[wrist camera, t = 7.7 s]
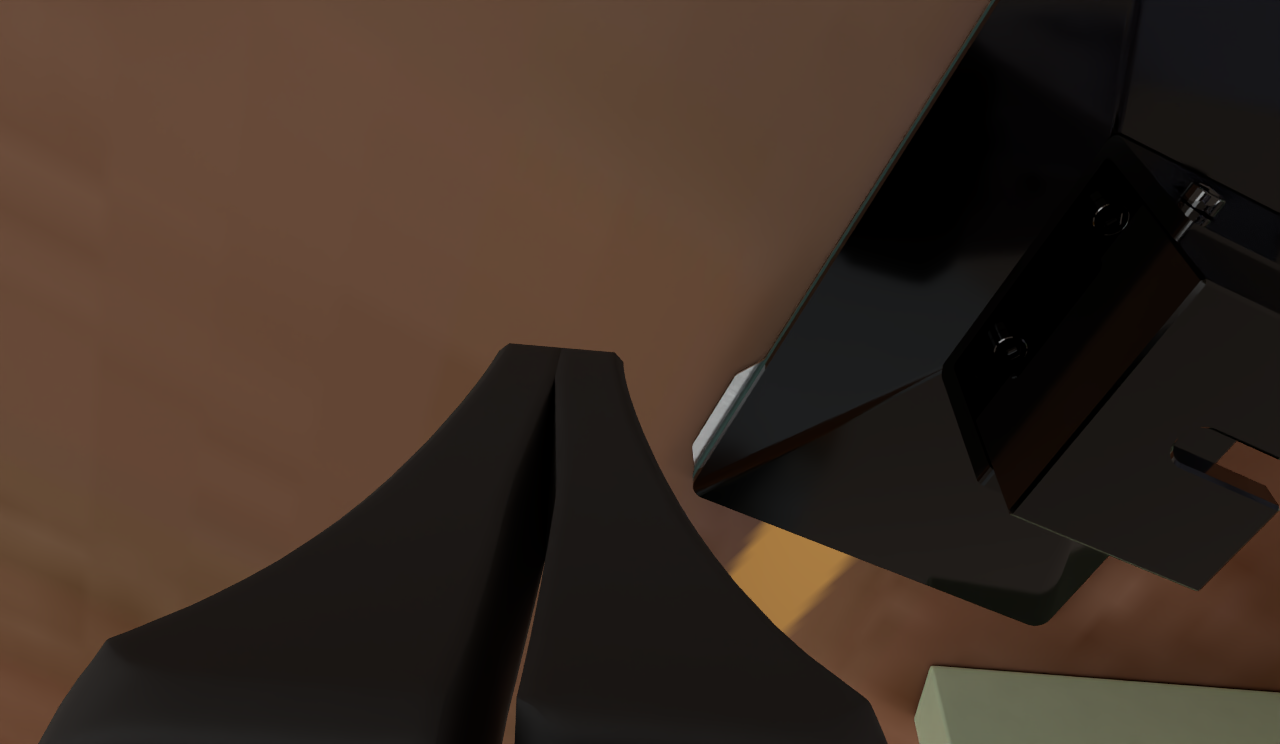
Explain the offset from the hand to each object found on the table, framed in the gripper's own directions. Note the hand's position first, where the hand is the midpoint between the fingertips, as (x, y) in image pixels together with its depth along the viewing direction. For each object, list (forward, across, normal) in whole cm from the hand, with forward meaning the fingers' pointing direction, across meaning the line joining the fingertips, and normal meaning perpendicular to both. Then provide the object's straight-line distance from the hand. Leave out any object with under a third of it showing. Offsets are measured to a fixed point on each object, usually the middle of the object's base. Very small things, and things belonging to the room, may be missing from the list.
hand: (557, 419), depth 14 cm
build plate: (+5, -7, 0) cm, 9 cm away
